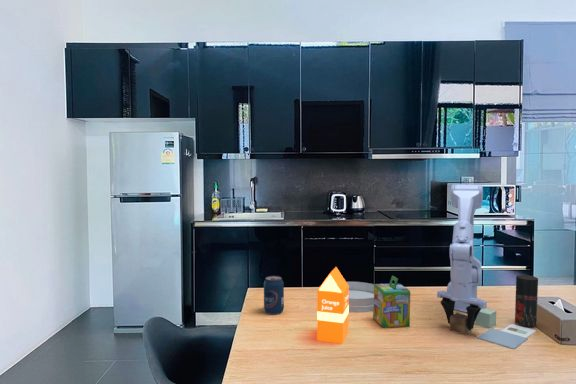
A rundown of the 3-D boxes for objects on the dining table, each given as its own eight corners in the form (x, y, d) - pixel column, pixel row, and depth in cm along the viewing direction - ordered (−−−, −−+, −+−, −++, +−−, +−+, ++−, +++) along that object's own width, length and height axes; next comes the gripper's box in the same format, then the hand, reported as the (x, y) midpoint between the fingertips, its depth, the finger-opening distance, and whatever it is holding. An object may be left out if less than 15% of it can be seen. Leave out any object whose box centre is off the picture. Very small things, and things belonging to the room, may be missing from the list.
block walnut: (449, 330, 125) (449, 316, 124) (456, 326, 128) (457, 312, 127) (464, 334, 121) (464, 320, 121) (471, 331, 124) (471, 316, 124)
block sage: (475, 324, 129) (475, 310, 129) (481, 321, 132) (481, 307, 132) (489, 328, 126) (490, 314, 126) (495, 324, 129) (496, 311, 128)
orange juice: (349, 332, 124) (349, 267, 123) (343, 343, 115) (343, 274, 114) (324, 329, 126) (323, 265, 125) (316, 340, 118) (316, 272, 117)
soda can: (260, 313, 140) (260, 279, 139) (269, 307, 146) (268, 274, 146) (279, 316, 137) (278, 281, 137) (286, 309, 144) (286, 276, 143)
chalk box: (372, 317, 135) (372, 274, 135) (399, 316, 137) (399, 272, 136) (382, 328, 126) (382, 281, 125) (410, 327, 127) (411, 280, 127)
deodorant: (539, 328, 125) (541, 280, 124) (518, 327, 127) (520, 279, 126) (532, 321, 131) (533, 275, 130) (512, 320, 132) (513, 274, 131)
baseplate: (477, 338, 119) (477, 337, 118) (491, 329, 125) (491, 328, 125) (514, 349, 111) (514, 348, 111) (527, 339, 117) (527, 338, 117)
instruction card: (499, 332, 123) (499, 331, 123) (511, 324, 129) (511, 323, 129) (525, 339, 118) (525, 338, 118) (536, 330, 123) (536, 330, 123)
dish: (393, 299, 155) (393, 286, 155) (372, 317, 137) (372, 302, 136) (340, 290, 167) (340, 278, 167) (314, 306, 148) (314, 292, 148)
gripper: (432, 279, 126) (431, 322, 127) (479, 289, 115) (478, 336, 116) (443, 275, 131) (443, 317, 132) (490, 284, 120) (489, 330, 121)
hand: (460, 325), depth 124 cm, fingers open, 6 cm apart
